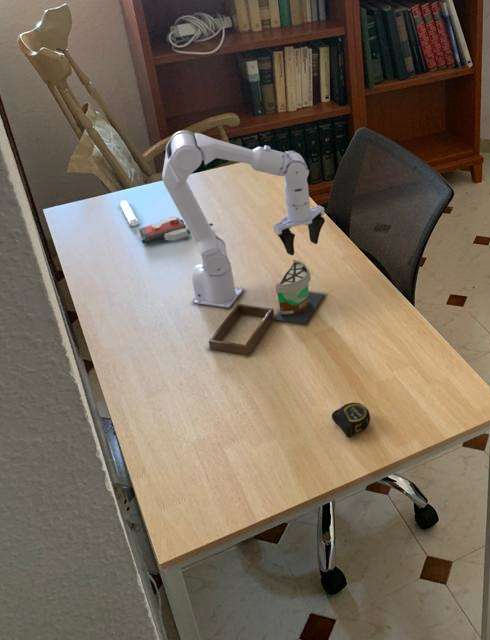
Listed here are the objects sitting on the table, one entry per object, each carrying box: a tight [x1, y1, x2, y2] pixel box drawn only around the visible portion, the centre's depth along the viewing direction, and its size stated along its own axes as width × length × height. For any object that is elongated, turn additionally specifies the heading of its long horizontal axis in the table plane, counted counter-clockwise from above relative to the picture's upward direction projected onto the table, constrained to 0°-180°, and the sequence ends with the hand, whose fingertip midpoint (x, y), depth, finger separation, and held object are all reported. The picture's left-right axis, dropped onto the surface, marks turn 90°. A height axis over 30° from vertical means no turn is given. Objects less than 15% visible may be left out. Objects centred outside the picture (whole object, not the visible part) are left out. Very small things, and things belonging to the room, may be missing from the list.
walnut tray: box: [208, 303, 276, 356], centre depth 188 cm, size 9×15×2 cm, turn 167°
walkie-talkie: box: [138, 216, 214, 245], centre depth 227 cm, size 9×4×20 cm
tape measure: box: [331, 402, 371, 439], centre depth 162 cm, size 7×7×4 cm
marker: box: [119, 200, 139, 227], centre depth 238 cm, size 3×2×16 cm
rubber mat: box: [274, 291, 325, 326], centre depth 198 cm, size 8×13×1 cm, turn 167°
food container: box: [275, 259, 312, 316], centre depth 195 cm, size 12×6×10 cm, turn 168°
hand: (302, 248), depth 202 cm, fingers open, 7 cm apart
